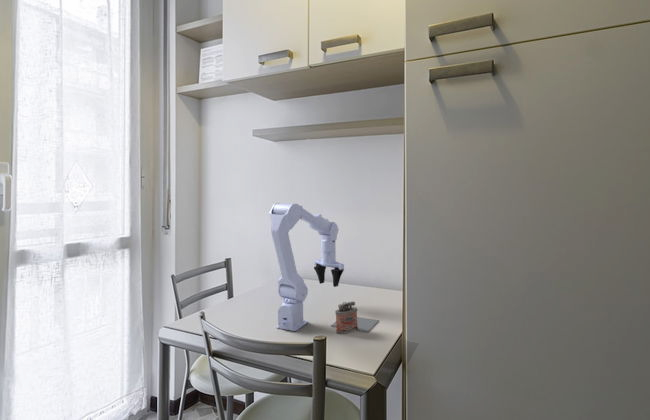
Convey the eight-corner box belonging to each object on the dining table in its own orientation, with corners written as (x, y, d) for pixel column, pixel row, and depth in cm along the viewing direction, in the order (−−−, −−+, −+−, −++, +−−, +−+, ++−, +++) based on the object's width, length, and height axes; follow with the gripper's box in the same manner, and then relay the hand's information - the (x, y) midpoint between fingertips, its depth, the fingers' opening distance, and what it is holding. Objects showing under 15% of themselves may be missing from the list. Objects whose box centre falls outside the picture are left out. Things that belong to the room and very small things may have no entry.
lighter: (338, 335, 124) (337, 306, 122) (334, 331, 127) (333, 303, 125) (359, 330, 127) (358, 302, 126) (355, 326, 130) (354, 298, 129)
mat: (368, 332, 125) (368, 331, 125) (330, 326, 131) (330, 325, 131) (378, 320, 136) (378, 320, 136) (343, 315, 142) (343, 314, 142)
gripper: (348, 251, 147) (349, 285, 147) (322, 248, 156) (322, 279, 157) (337, 254, 141) (337, 289, 142) (310, 250, 151) (310, 283, 152)
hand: (328, 284), depth 149 cm, fingers open, 7 cm apart
